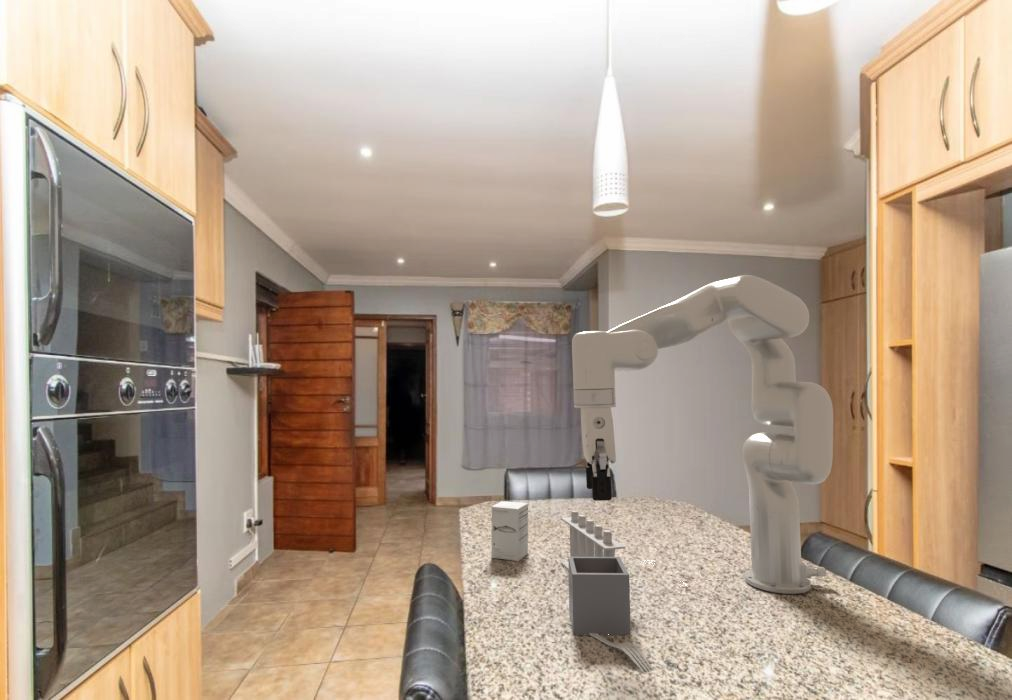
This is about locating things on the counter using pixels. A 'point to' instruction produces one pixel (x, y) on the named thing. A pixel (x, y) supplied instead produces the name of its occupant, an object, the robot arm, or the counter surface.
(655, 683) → the counter surface
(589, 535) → the test tube rack
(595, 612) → the grey open square box
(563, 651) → the counter surface
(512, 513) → the supplement box
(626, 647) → the fork
